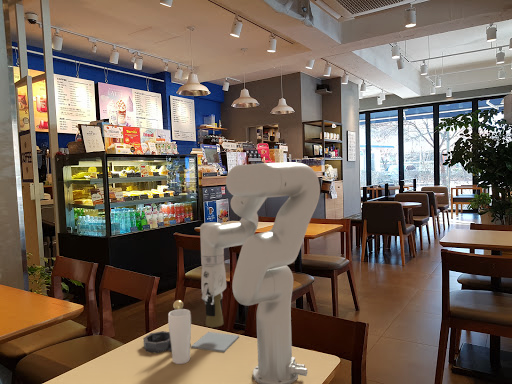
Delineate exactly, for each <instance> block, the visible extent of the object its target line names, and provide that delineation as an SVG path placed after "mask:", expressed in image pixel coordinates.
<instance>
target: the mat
mask: <svg viewBox="0 0 512 384" xmlns="http://www.w3.org/2000/svg"><path fill="white" fill-rule="evenodd" d="M239 338H240V335H237V334H229V333H222V332H221V333H220V332H215V331H214V332H213V331H208V332H206V333H205V334H204V335H202V337H200V338H199V339H197V341H195V342H194V343H193V344H191V347H190V349H192V348H193V349H199V350H204V351H205V350H206V351H211V352H220V353H226V351H228V349H230V347H231V346H232V345H233V344H234V343H235V342H237V340H238V339H239Z"/></svg>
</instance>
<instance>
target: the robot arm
mask: <svg viewBox="0 0 512 384" xmlns="http://www.w3.org/2000/svg"><path fill="white" fill-rule="evenodd" d="M225 178H226V179H225V186H226V189H227V191H228V192H229V193H230V194H231V195H232V198H231V199H230V208H231V209H232V211H233V213H234V214H236V215H237V216H238V217H240V220H238V221H237V222H230V223H229V222H228V223H224V224H222V223H221V222H216V221H215V222H214V221H213V222H212V221H211V222H204V223H201V225H200V228H199V231H200V233H199V235H200V236H199V237H200V259H201V260H200V261H201V280H200V281H201V294H202V295H201V299H202V300H203V301H204V305H205V314H206V316H215V304H214V296H217V295H218V294H220V293H221V300H220V305H221V310H222V311H223V293H224V291H225V290H226V289H227V272H226V266H225V258H224V257H225V256H224V255H225V254H224V253H225V252H224V251H225V250H224V249H227V248H230V247H231V248H232V247H238V246H241V249H240V252H239V256H238V259H237V262H236V265H235V270H234V274H233V278H232V285H231V287H232V293H233V297H234V299H235V300H236V301H237V302H238V303H239V304H240V305H243V306H253V305H257V304H258V305H257V309H256V336H257V337H256V338H257V339H256V340H257V341H256V342H257V344H256V345H257V365H256V366H255V367H254V368H253V370H252V378H253V380H254V381H255V382H256V383H258V384H292V383H294V382H295V381H297V379H298V378H299V376H302V377H307V376H308V368H306V364H302V363H298V362H296V357H294V356H293V354H292V353H293V351H292V350H293V349H292V346H293V344H292V343H293V342H292V321H291V320H292V317H291V311H292V308H291V307H292V296H293V289H294V275H293V272H292V270H291V269H290V267H289V266H288V265H291V264H293V263H294V262H295V261H296V260H297V257H298V255H299V253H300V250H301V247H302V244H303V241H304V238H305V236H306V233H307V229H308V227H309V224H310V223H311V219H312V217H313V215H314V212H315V210H316V208H317V205H318V203H319V200H320V195H321V194H320V193H321V186H320V181H319V177H318V175H317V172H315V170H314V169H313V168H312V167H310V166H309V165H307V164H304V163H301V162H261V163H251V164H237V165H235V166H233V167H232V168H230V170H229V171H228V173H227V175H226V177H225ZM287 196H288V198H287V200H286V201H285V202H284V203H283V204H282V205H281V207H280V208H279V210H278V212H277V214H276V217H275V220H274V223H273V226H272V227H271V229H270V230H268V231H264V232H259V233H256V232H257V231H258V227H259V215H258V211H259V210H260V209H261V207H262V206H263V204H264V203H265V201H266V200H267V199H268V198H278V197H287ZM208 293H210V294H211V295H210V294H208ZM208 297H211V299H210V298H208Z"/></svg>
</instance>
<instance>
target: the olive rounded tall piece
mask: <svg viewBox="0 0 512 384" xmlns="http://www.w3.org/2000/svg"><path fill="white" fill-rule="evenodd" d="M208 294H210V293H208ZM210 295H211V294H210ZM208 298H210V299H211V297H208ZM220 300H221V293H220V294H218V295H217V296H214V304H215V316H207V315H206V318H205V327H209V328H218V327H222V326H223V325H224V316H223V309H222V310H221V305H220Z"/></svg>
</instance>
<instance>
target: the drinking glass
mask: <svg viewBox="0 0 512 384" xmlns="http://www.w3.org/2000/svg"><path fill="white" fill-rule="evenodd" d="M167 316H168V322H167V323H168V332H169V333H170V341H171V348H172V352H171V357H172V362H173V363H174V364H177V365H184V364H187V363H188V362H189V361H190V360H191V347H190V344H191V335H192V314H191V310H189V309H185V308H182V309H178V310H175V309H174V310H171V311H169V312H168V315H167Z"/></svg>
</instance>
